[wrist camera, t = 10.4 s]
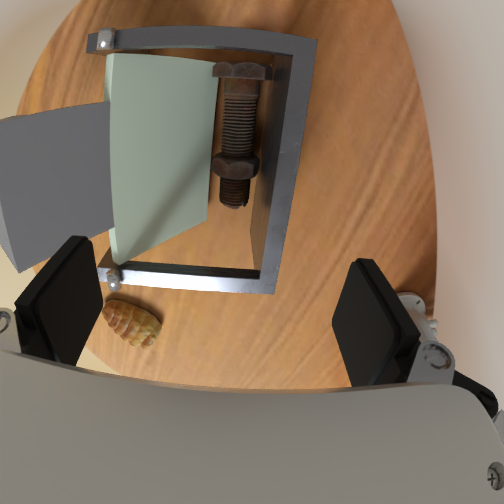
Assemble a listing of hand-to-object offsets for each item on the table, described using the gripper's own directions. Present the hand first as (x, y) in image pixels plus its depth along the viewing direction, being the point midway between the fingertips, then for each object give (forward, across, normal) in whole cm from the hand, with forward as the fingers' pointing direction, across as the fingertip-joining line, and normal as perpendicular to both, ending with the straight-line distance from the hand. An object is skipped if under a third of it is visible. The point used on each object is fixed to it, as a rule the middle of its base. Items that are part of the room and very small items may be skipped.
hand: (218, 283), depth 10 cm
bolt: (+20, +1, -2) cm, 20 cm away
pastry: (+25, +13, +26) cm, 39 cm away
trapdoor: (+17, +13, -1) cm, 21 cm away
